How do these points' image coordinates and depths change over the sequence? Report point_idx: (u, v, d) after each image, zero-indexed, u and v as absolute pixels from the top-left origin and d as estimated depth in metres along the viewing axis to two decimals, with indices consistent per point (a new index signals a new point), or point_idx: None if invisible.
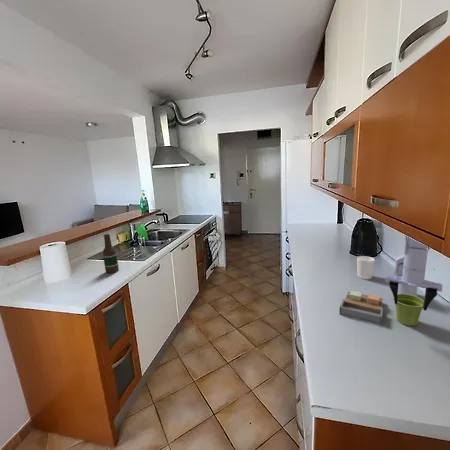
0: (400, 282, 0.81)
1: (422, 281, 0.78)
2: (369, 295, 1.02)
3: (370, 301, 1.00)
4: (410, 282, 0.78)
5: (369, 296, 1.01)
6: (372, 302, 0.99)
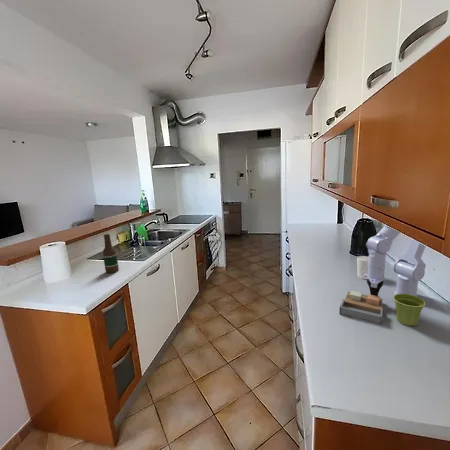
0: None
1: (370, 275, 1.00)
2: (369, 295, 1.02)
3: (370, 301, 0.99)
4: None
5: (369, 296, 1.01)
6: (372, 302, 0.99)
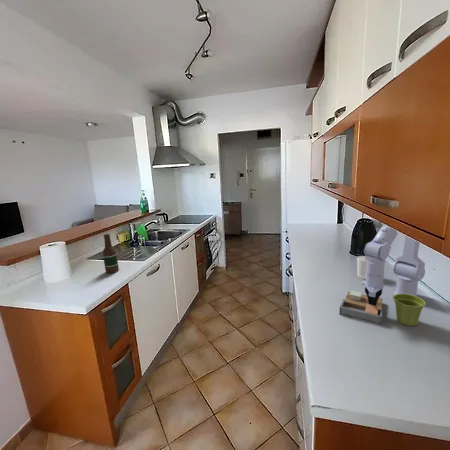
0: None
1: (368, 283, 0.93)
2: (367, 306, 0.95)
3: None
4: (365, 281, 0.97)
5: (367, 308, 0.95)
6: None
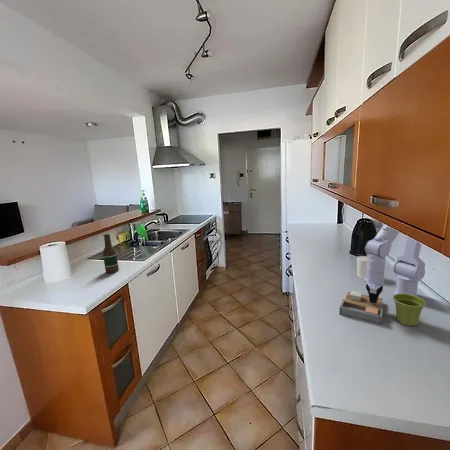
0: None
1: (369, 280, 0.96)
2: (367, 308, 0.96)
3: None
4: None
5: (367, 309, 0.95)
6: None
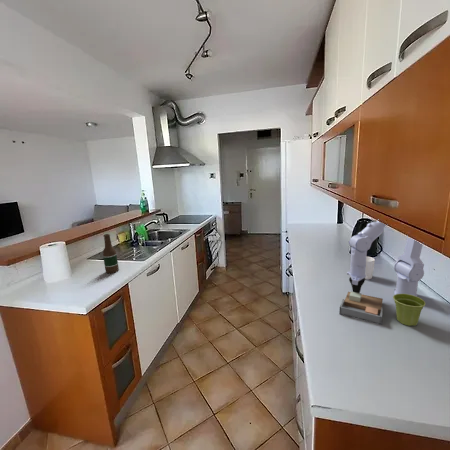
0: None
1: (352, 273, 1.03)
2: (367, 308, 0.96)
3: None
4: (350, 271, 1.06)
5: (367, 309, 0.95)
6: None
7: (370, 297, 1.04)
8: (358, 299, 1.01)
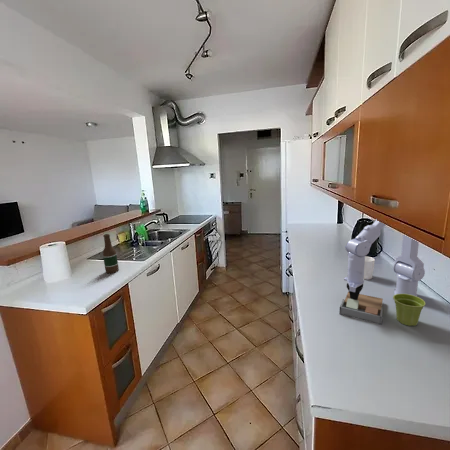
0: None
1: (350, 279, 0.98)
2: (367, 308, 0.96)
3: None
4: None
5: (367, 309, 0.95)
6: None
7: (370, 297, 1.04)
8: None
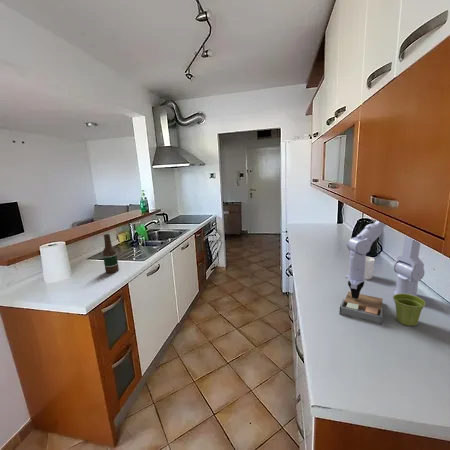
0: None
1: (351, 276, 1.00)
2: (367, 308, 0.96)
3: None
4: (349, 274, 1.03)
5: (367, 309, 0.95)
6: None
7: (370, 297, 1.04)
8: None
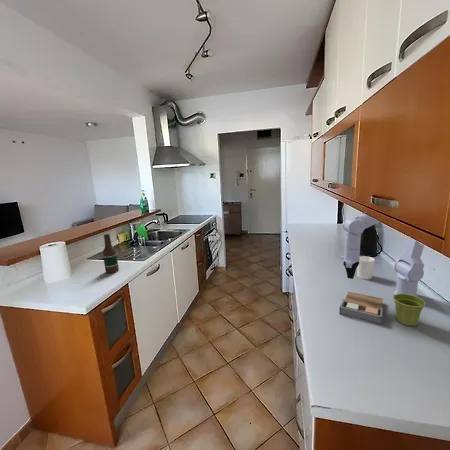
0: None
1: (346, 257, 1.03)
2: (367, 308, 0.96)
3: None
4: None
5: (367, 309, 0.95)
6: None
7: (370, 297, 1.04)
8: None
